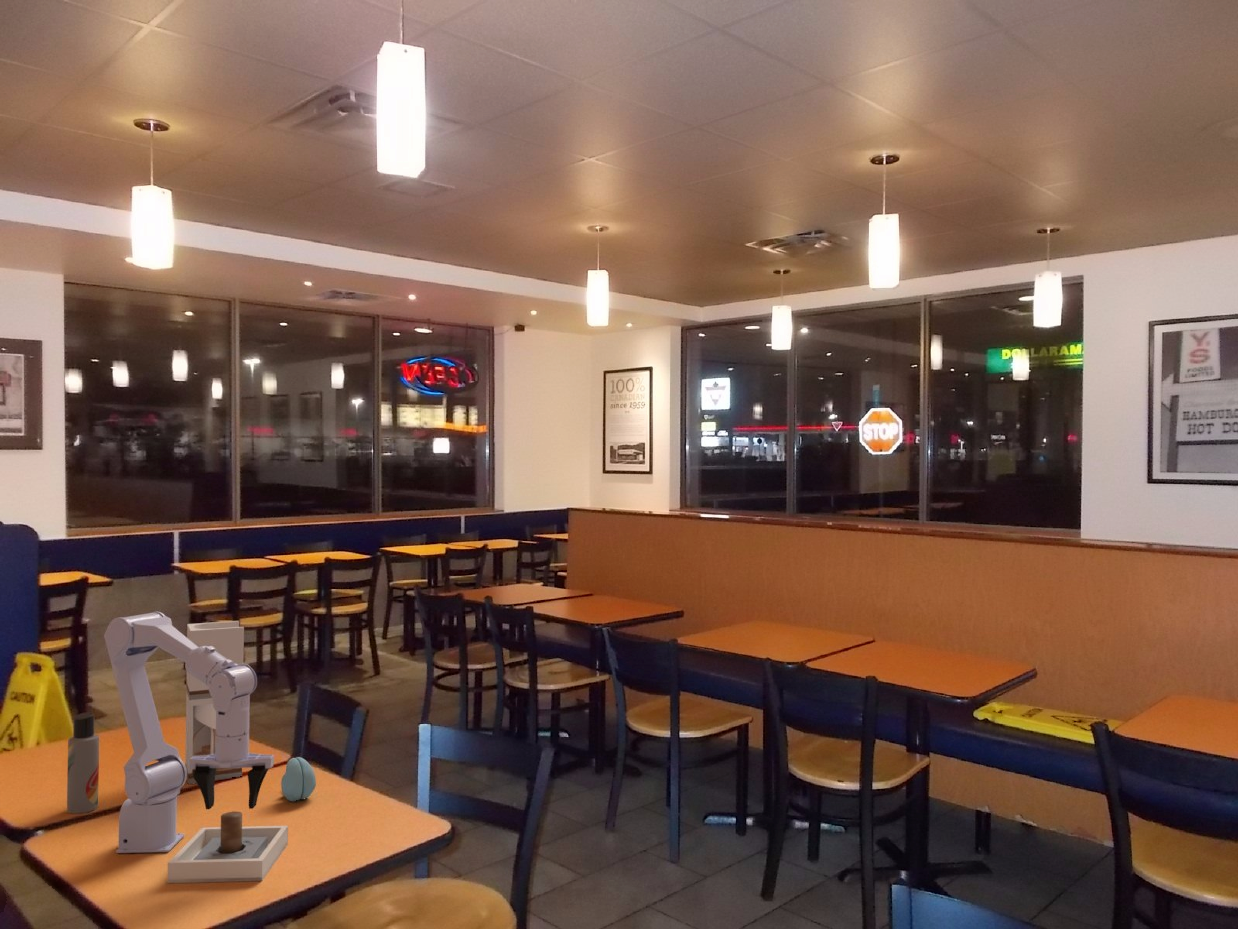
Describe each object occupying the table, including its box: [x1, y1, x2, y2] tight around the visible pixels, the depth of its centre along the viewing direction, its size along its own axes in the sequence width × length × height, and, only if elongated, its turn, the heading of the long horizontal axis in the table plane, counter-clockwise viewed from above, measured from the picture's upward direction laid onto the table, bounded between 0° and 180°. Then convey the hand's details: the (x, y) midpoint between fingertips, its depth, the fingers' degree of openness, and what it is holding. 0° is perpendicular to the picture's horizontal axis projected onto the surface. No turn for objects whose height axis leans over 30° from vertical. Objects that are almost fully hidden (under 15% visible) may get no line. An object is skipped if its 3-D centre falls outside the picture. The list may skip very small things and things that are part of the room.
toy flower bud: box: [280, 756, 317, 802], centre depth 201 cm, size 7×9×12 cm
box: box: [167, 825, 289, 884], centre depth 167 cm, size 16×16×4 cm
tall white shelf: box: [184, 620, 245, 785], centre depth 216 cm, size 11×11×35 cm
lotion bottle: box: [66, 712, 100, 815], centre depth 193 cm, size 6×6×20 cm
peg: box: [220, 811, 243, 854], centre depth 167 cm, size 4×4×8 cm
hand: (231, 807), depth 168 cm, fingers open, 7 cm apart
